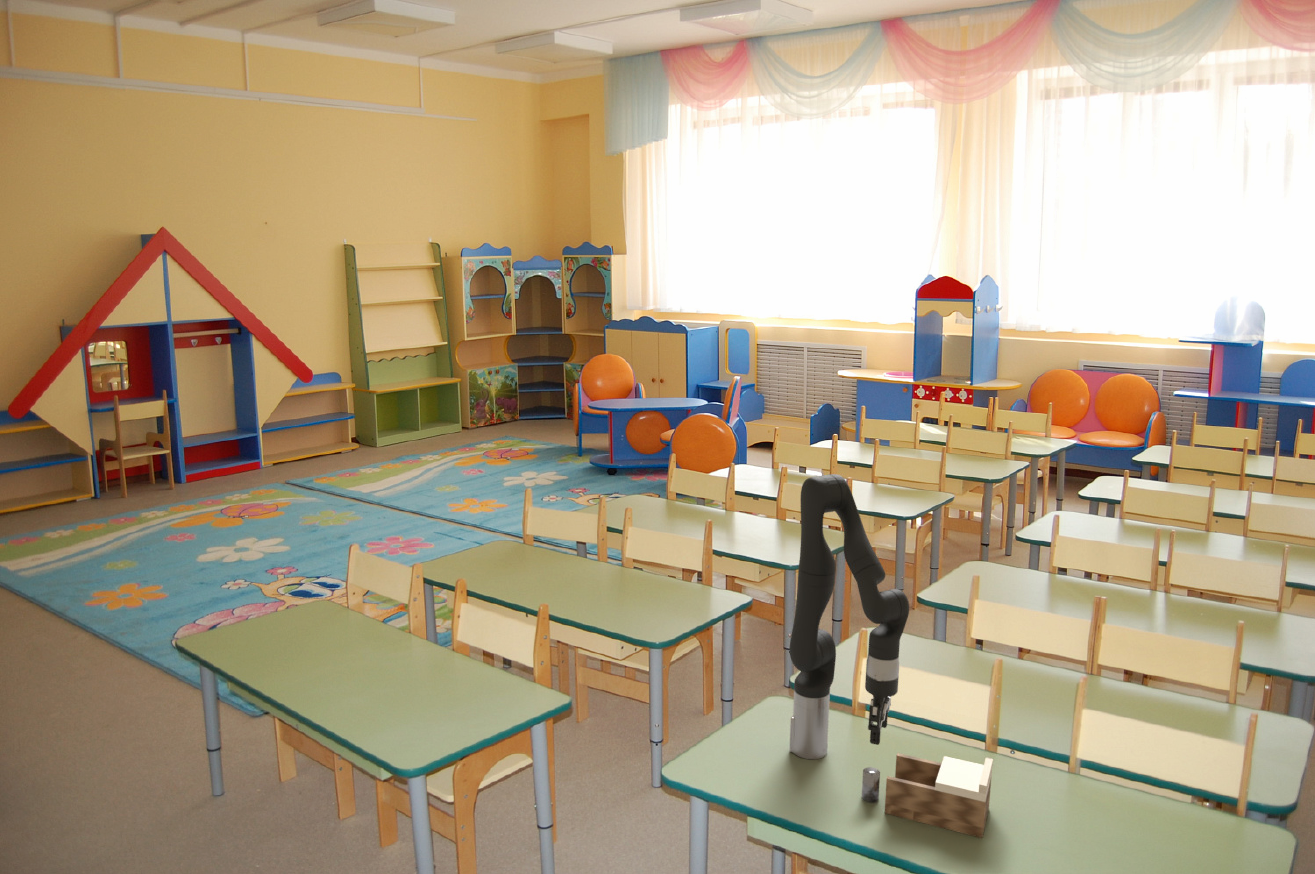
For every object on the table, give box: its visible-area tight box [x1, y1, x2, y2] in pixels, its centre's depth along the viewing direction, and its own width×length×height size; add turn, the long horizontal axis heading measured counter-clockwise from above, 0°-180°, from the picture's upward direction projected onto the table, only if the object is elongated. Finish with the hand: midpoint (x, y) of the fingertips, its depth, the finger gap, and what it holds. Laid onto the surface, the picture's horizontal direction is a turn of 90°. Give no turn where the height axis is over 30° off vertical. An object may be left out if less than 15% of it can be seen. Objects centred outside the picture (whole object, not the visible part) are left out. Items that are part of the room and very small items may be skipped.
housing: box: [884, 752, 992, 839], centre depth 225 cm, size 22×12×9 cm, turn 65°
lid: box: [935, 755, 994, 802], centre depth 222 cm, size 11×12×4 cm
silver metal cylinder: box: [861, 766, 881, 804], centre depth 231 cm, size 4×4×7 cm
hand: (878, 734), depth 228 cm, fingers open, 8 cm apart
